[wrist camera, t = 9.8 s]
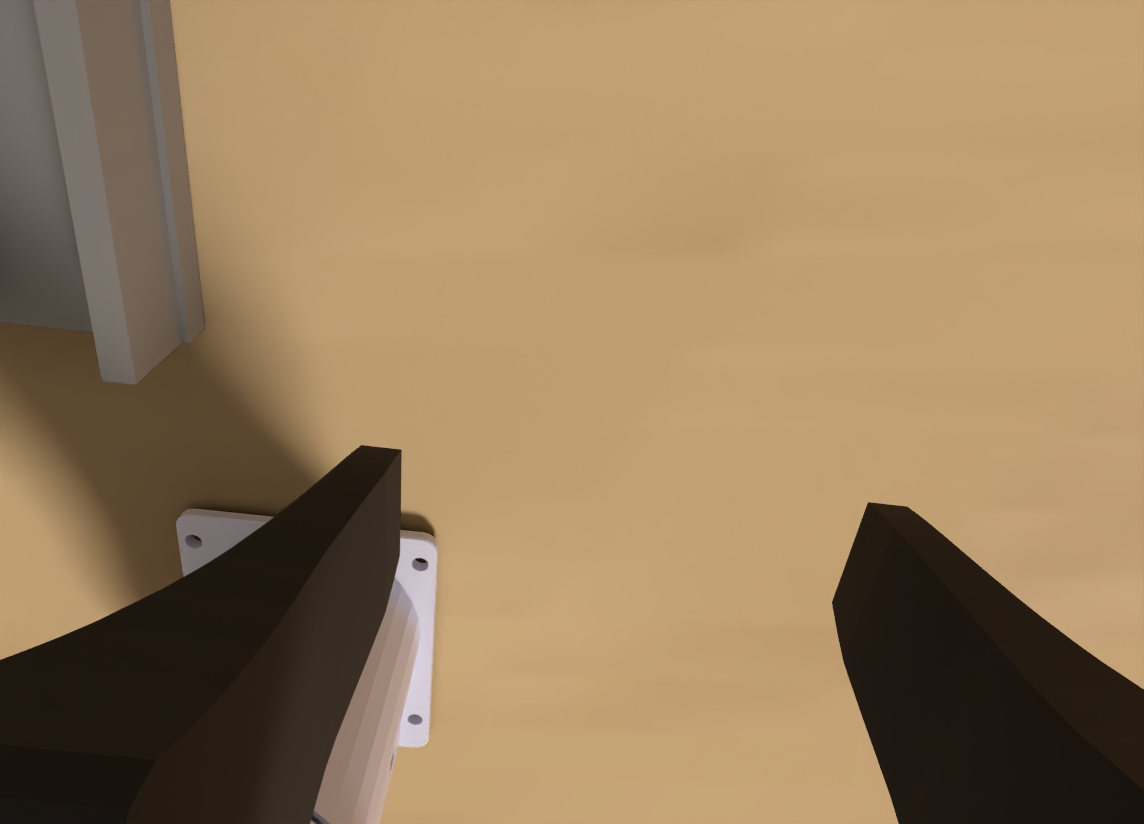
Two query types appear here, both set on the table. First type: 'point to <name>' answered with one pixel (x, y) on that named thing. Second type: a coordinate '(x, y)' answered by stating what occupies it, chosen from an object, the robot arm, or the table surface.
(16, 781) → the robot arm
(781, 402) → the table surface
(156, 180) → the rack
